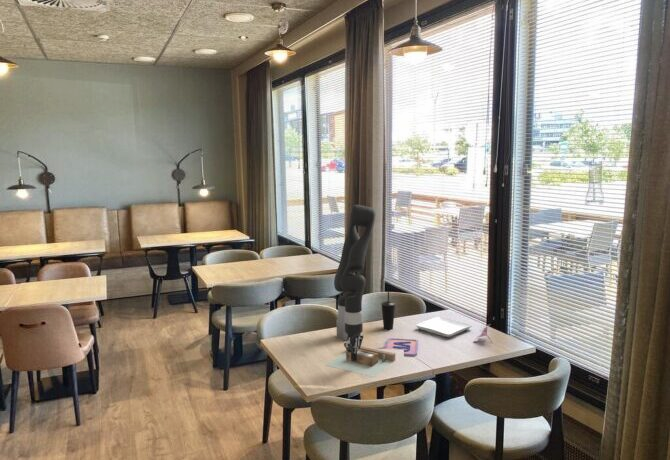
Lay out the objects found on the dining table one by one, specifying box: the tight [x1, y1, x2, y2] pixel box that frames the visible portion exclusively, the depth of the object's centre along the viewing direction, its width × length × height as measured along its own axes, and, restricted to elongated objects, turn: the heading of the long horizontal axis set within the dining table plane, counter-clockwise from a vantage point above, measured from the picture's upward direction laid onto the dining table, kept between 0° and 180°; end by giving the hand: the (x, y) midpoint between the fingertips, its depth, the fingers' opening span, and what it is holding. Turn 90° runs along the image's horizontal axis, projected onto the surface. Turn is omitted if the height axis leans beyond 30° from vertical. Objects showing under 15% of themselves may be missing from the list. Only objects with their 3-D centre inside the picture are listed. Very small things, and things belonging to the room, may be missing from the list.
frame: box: [345, 349, 378, 367], centre depth 224 cm, size 13×6×4 cm, turn 58°
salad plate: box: [415, 315, 473, 338], centre depth 265 cm, size 21×21×3 cm
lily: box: [473, 325, 493, 343], centre depth 248 cm, size 12×12×10 cm
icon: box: [374, 337, 419, 357], centre depth 243 cm, size 19×2×20 cm
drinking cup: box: [380, 290, 397, 331], centre depth 268 cm, size 8×8×20 cm
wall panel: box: [325, 345, 396, 378], centre depth 223 cm, size 24×20×4 cm
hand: (354, 360), depth 217 cm, fingers closed
